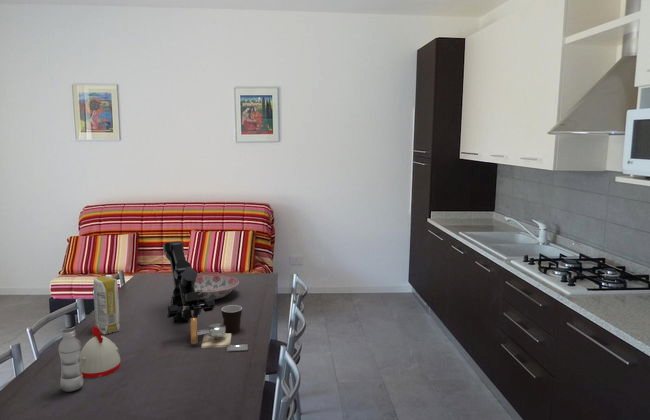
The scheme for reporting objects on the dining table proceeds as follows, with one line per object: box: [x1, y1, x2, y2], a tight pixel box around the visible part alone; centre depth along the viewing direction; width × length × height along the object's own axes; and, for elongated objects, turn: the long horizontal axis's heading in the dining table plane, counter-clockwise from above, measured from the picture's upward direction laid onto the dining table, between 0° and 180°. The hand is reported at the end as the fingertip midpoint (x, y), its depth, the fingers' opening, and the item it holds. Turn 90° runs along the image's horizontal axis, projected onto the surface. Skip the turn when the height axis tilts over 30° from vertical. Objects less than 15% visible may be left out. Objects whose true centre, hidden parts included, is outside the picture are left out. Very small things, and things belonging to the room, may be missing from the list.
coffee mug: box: [221, 304, 243, 335], centre depth 201 cm, size 12×9×10 cm
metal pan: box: [189, 316, 226, 345], centre depth 187 cm, size 14×7×10 cm, turn 118°
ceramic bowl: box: [194, 274, 240, 301], centre depth 242 cm, size 29×29×8 cm
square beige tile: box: [200, 333, 232, 349], centre depth 189 cm, size 11×11×3 cm
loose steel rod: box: [226, 343, 249, 352], centre depth 182 cm, size 8×2×2 cm
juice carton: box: [92, 274, 121, 336], centre depth 197 cm, size 9×8×24 cm
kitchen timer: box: [80, 325, 122, 379], centre depth 165 cm, size 14×14×15 cm
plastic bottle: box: [57, 328, 84, 393], centre depth 151 cm, size 6×7×20 cm
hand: (194, 327), depth 186 cm, fingers closed
